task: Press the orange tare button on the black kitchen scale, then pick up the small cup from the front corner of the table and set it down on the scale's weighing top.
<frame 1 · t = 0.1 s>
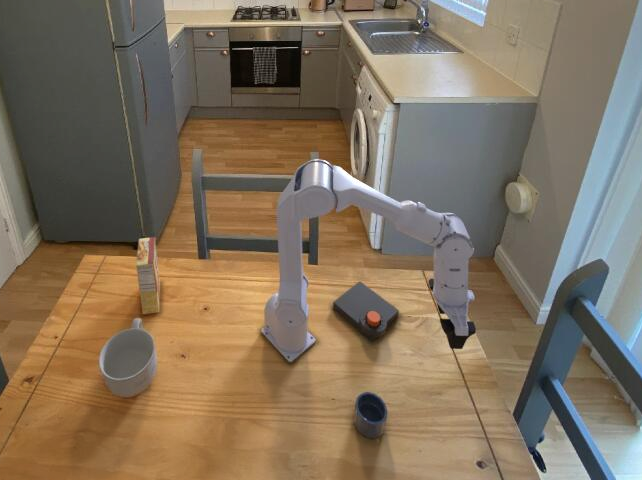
hand: (450, 329, 83), 10 cm above the table, tool pointing down, fingers open, 7 cm apart
scale: (365, 312, 98), on the table
candy box: (152, 299, 103), on the table
cup: (368, 423, 77), on the table
teacup: (135, 371, 87), on the table
tare button: (373, 318, 92), point 4 cm above the table, slide at 0.1 cm
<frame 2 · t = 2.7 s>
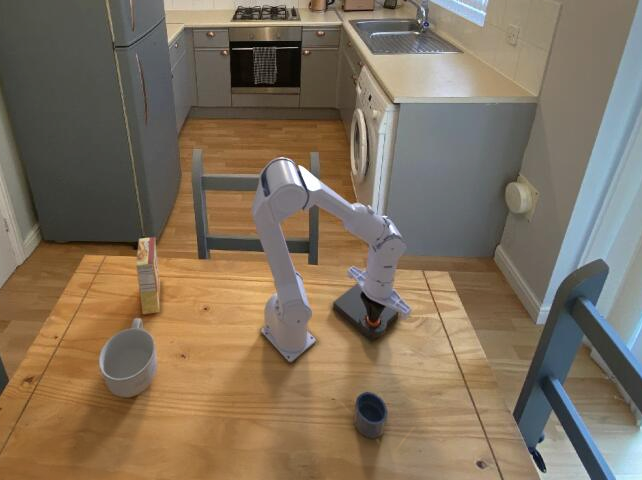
hand: (373, 318, 92), 4 cm above the table, tool pointing down, fingers closed, pressing on tare button
tare button: (373, 321, 93), point 3 cm above the table, slide at -0.6 cm, touching gripper
everything else where it was.
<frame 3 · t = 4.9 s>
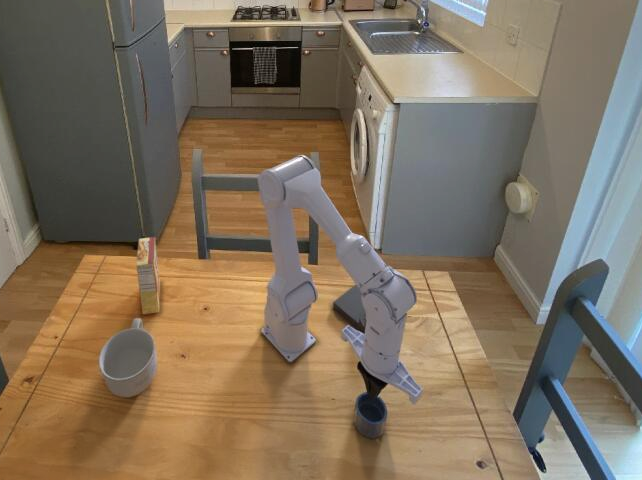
hand: (373, 393, 74), 8 cm above the table, tool pointing down, fingers closed
tare button: (373, 318, 92), point 4 cm above the table, slide at 0.1 cm
everything else where it was.
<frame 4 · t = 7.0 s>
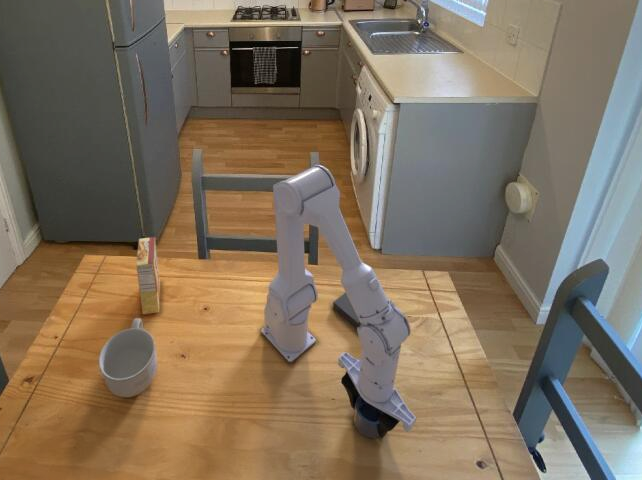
hand: (369, 418, 76), 1 cm above the table, tool pointing down, fingers closed on cup, 5 cm apart
cup: (368, 422, 77), on the table, touching gripper
everything else where it was.
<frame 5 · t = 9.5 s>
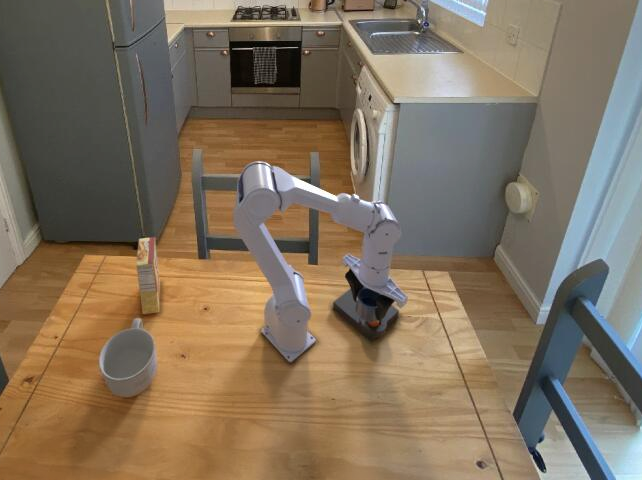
hand: (369, 308, 90), 8 cm above the table, tool pointing down, fingers closed on cup, 5 cm apart
cup: (368, 312, 90), point 7 cm above the table, touching gripper
everything else where it was.
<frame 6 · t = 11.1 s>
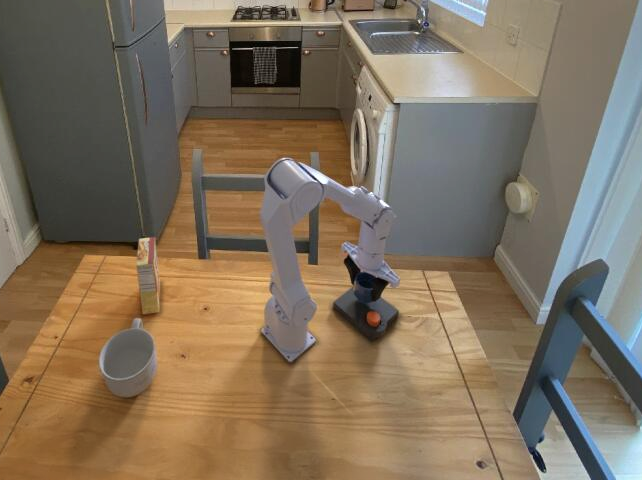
hand: (365, 290, 99), 5 cm above the table, tool pointing down, fingers closed on cup, 5 cm apart
cup: (365, 294, 99), point 3 cm above the table, touching gripper
everything else where it was.
when the fingers open (3 cm above the table, at t = 12.0 s): cup stays where it is, resting on scale.
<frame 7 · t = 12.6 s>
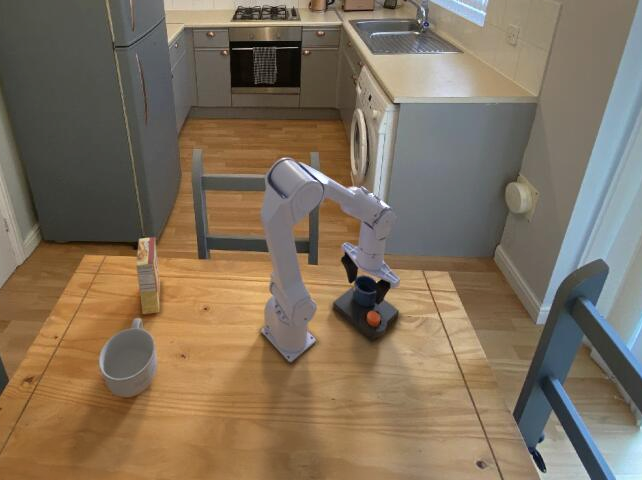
hand: (365, 291, 99), 4 cm above the table, tool pointing down, fingers open, 7 cm apart
cup: (364, 298, 100), point 2 cm above the table, touching scale
everything else where it was.
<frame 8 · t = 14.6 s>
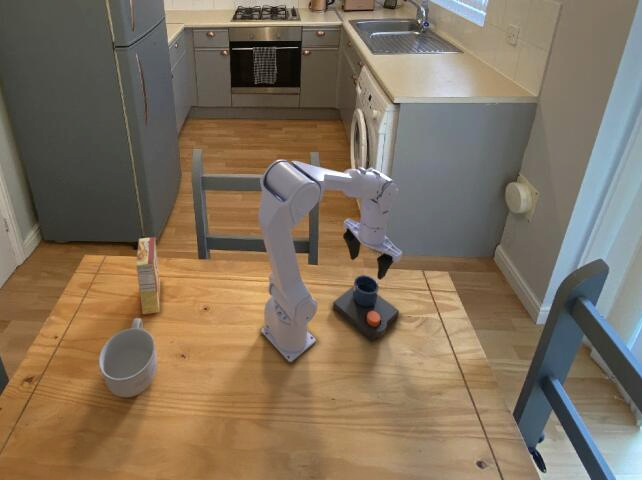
hand: (367, 266, 99), 9 cm above the table, tool pointing down, fingers open, 7 cm apart
nothing on the table moved.
at the end: tare button pushed in 0.8 cm at the most during the clip, back to where it started at the end; cup inside the target area on the scale (2.2 cm from its centre), point 1.9 cm above the scale's base; cup touching scale; cup tilted 0° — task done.
